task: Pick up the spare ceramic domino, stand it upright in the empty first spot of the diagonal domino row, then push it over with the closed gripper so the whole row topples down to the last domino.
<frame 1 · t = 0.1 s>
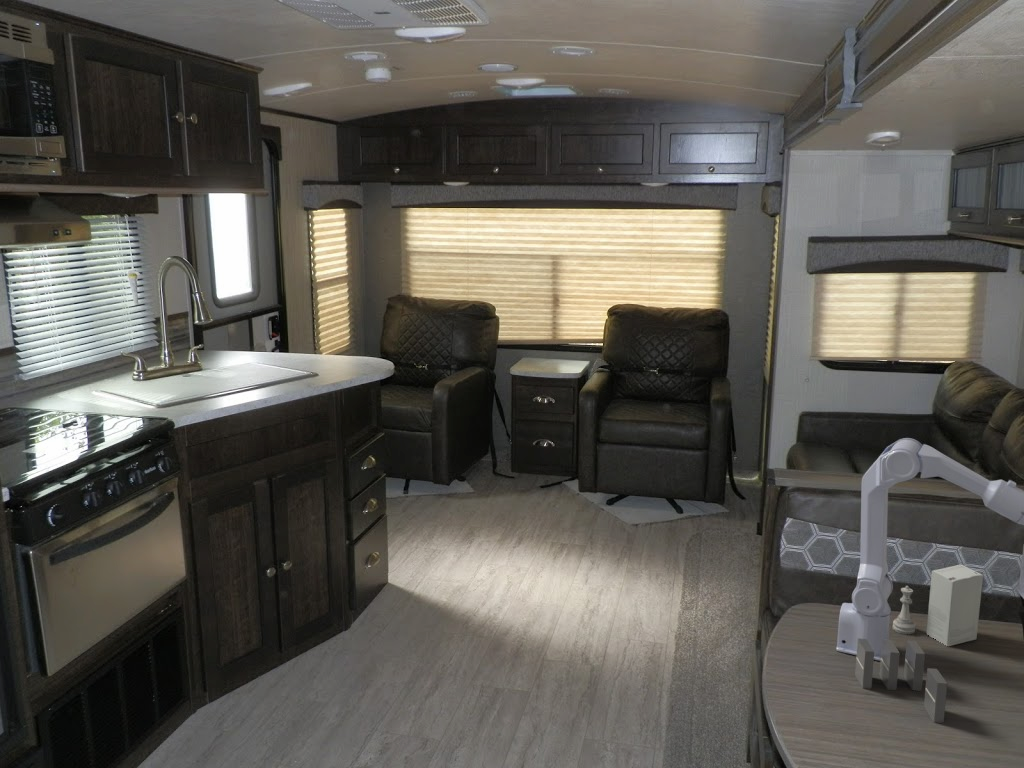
domino 2: (863, 681, 167), on the table
domino 1: (933, 714, 156), on the table
domino 4: (912, 683, 166), on the table
domino 3: (887, 682, 167), on the table
skincare box: (950, 639, 184), on the table
chess piece: (903, 630, 187), on the table
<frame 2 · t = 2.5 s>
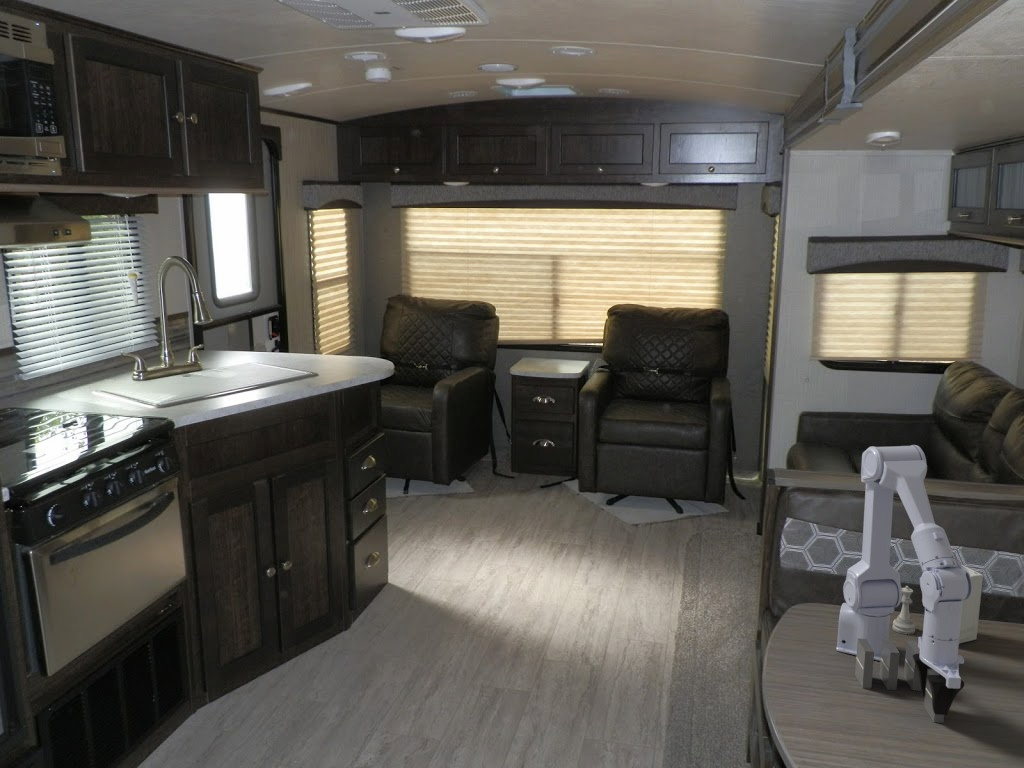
hand: (934, 704, 155), 2 cm above the table, tool pointing down, fingers closed on domino 1, 5 cm apart
domino 1: (933, 714, 156), on the table, touching gripper
everything else where it was.
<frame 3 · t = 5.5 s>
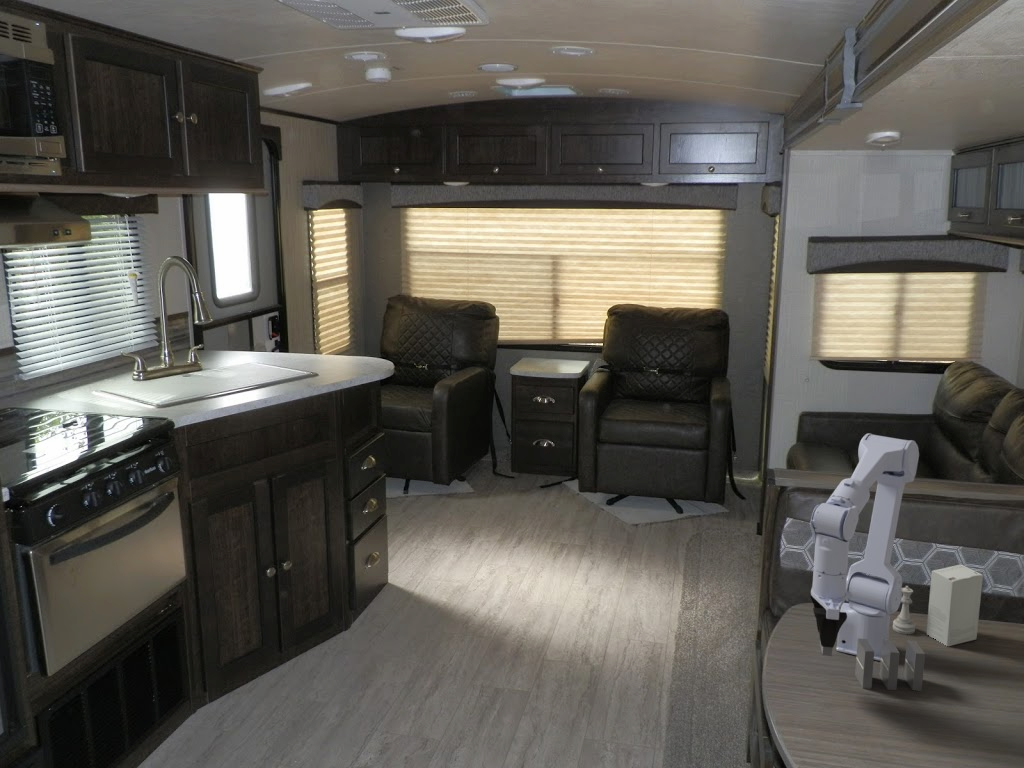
hand: (825, 639, 162), 10 cm above the table, tool pointing down, fingers closed on domino 1, 5 cm apart
domino 1: (825, 649, 162), point 8 cm above the table, touching gripper
everything else where it was.
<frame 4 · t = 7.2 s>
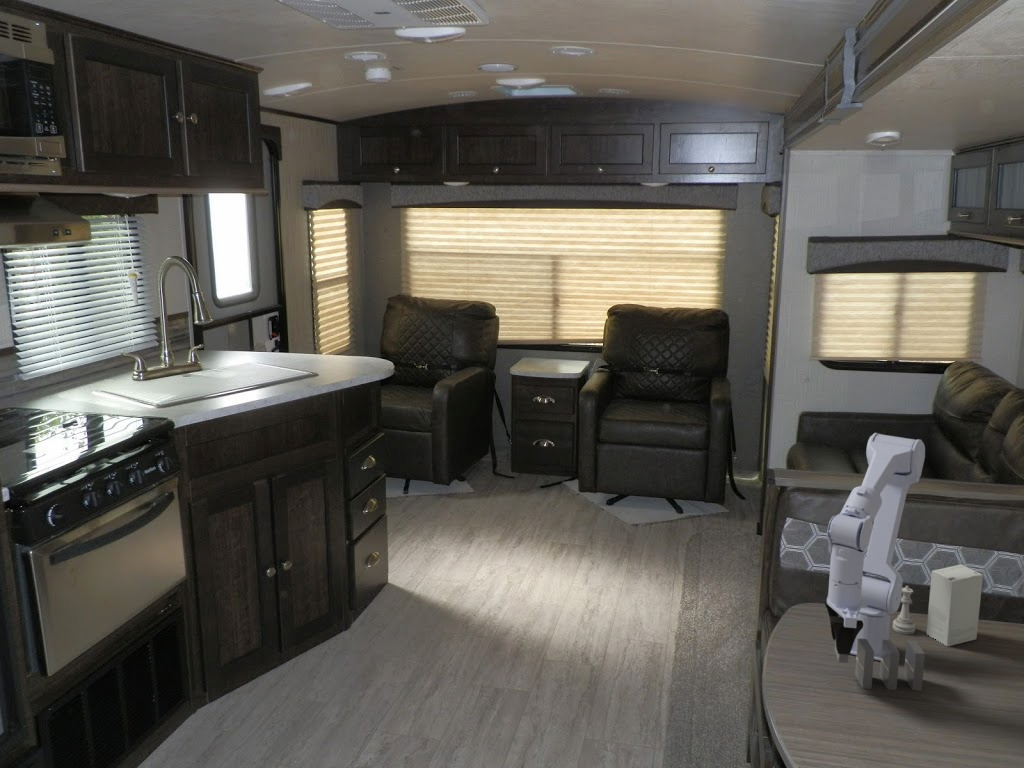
hand: (840, 646, 166), 7 cm above the table, tool pointing down, fingers closed on domino 1, 5 cm apart
domino 1: (840, 656, 166), point 5 cm above the table, touching gripper
everything else where it was.
when the fingers open (3 cm above the table, at t = 8.4 s): domino 1 stays where it is, on the table.
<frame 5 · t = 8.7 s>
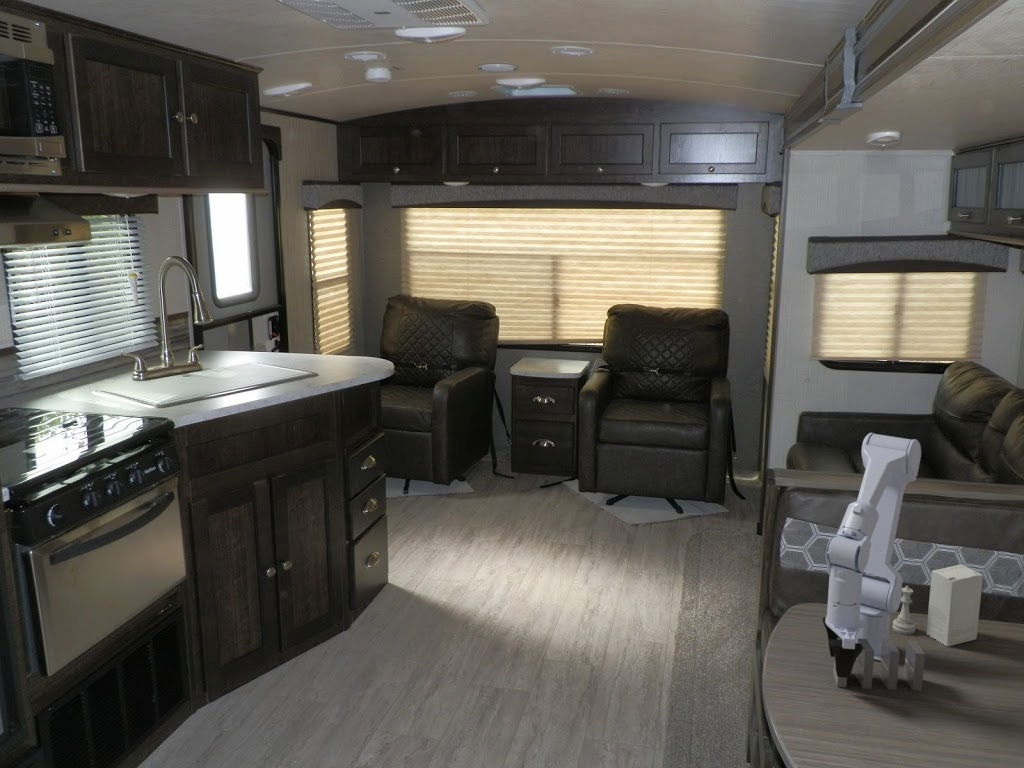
hand: (839, 666, 167), 3 cm above the table, tool pointing down, fingers open, 7 cm apart
domino 1: (839, 680, 167), on the table
everything else where it was.
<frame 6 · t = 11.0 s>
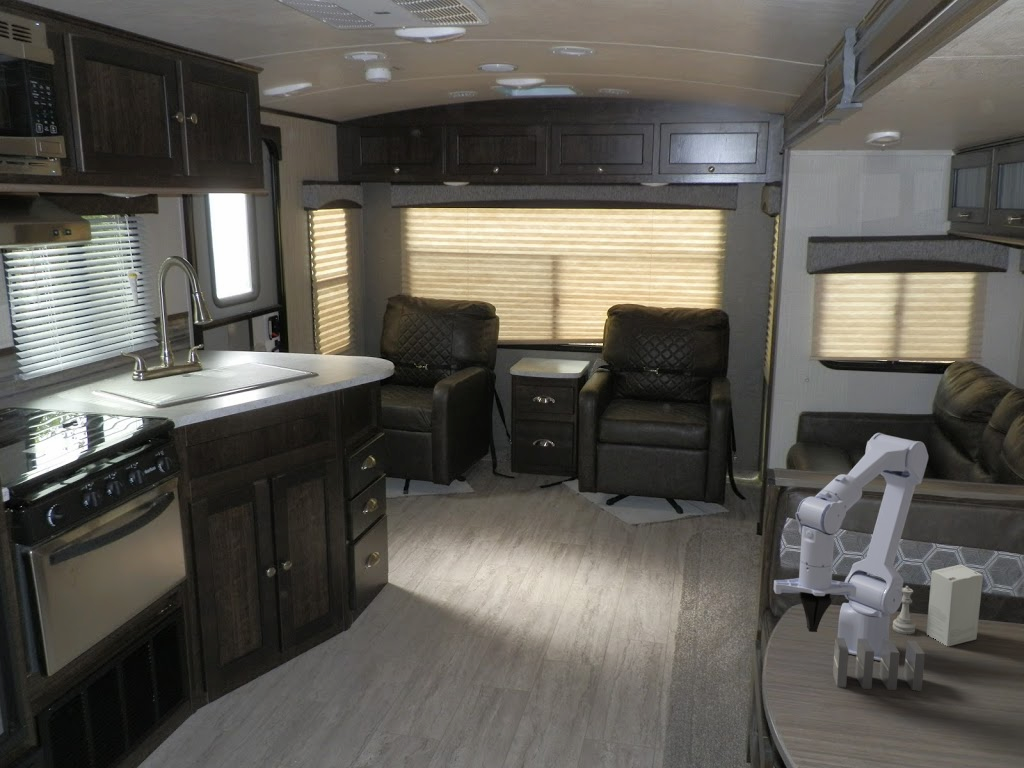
hand: (811, 629, 166), 10 cm above the table, tool pointing down, fingers closed
nothing on the table moved.
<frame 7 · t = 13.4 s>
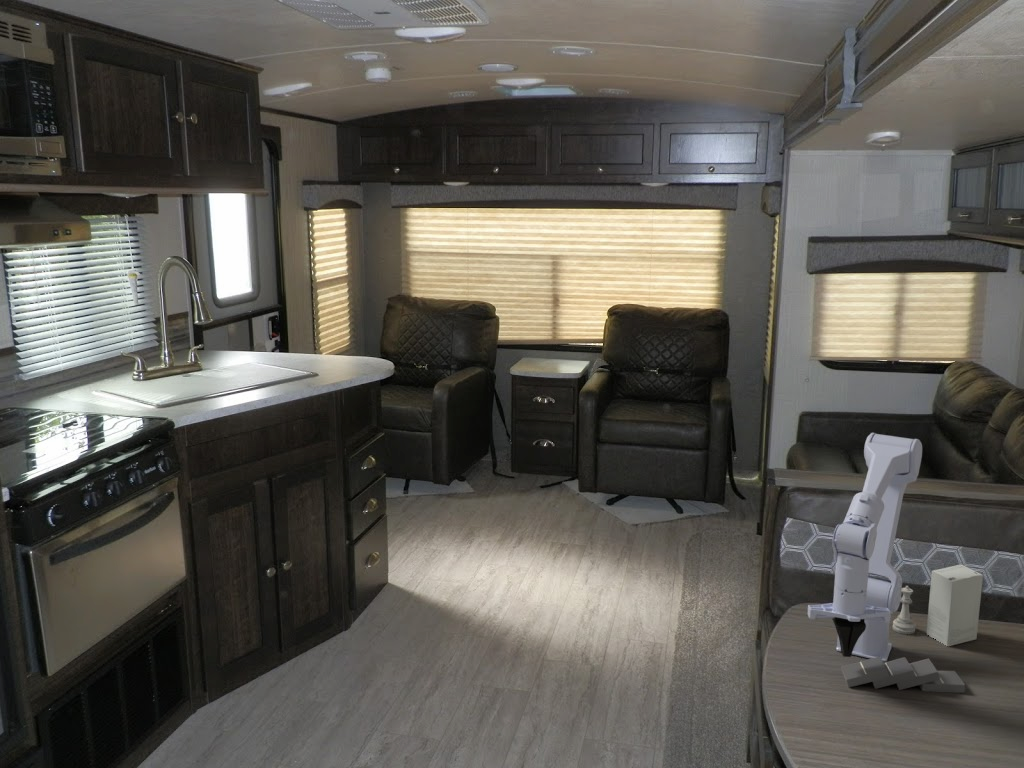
hand: (845, 654, 166), 5 cm above the table, tool pointing down, fingers closed
domino 2: (870, 678, 167), point 1 cm above the table, tilted 69°, touching domino 1, domino 3
domino 1: (844, 676, 167), point 1 cm above the table, tilted 69°, touching domino 2
domino 4: (917, 680, 166), point 1 cm above the table, tilted 89°
domino 3: (894, 679, 166), point 1 cm above the table, tilted 69°, touching domino 2
everything else where it was.
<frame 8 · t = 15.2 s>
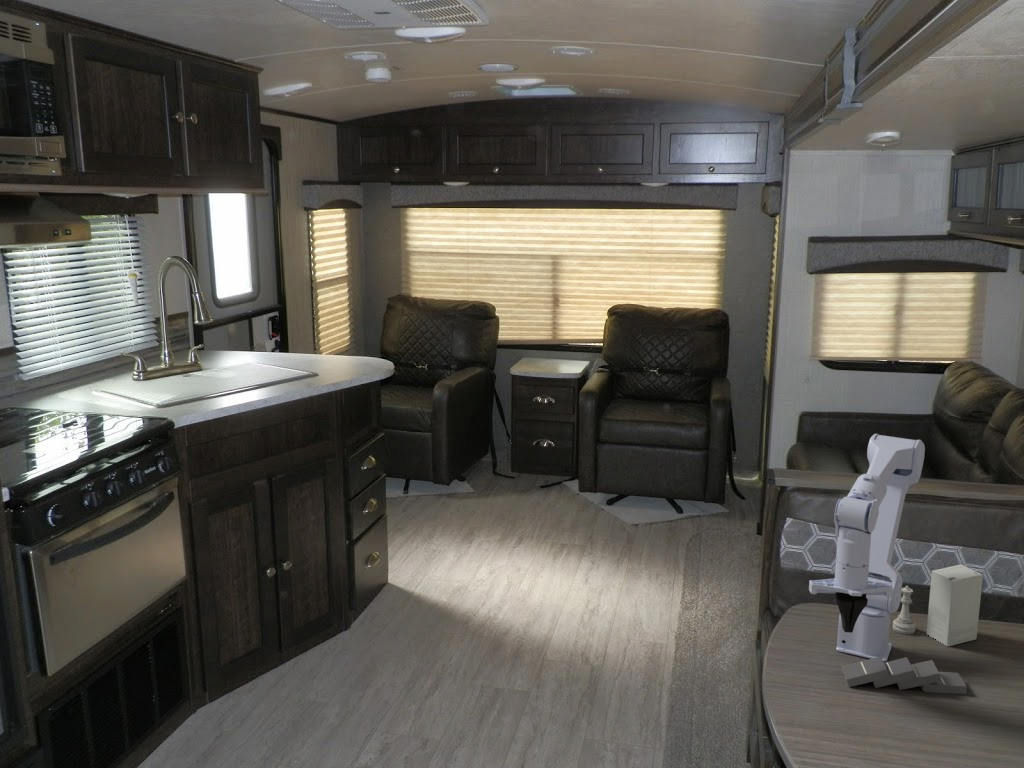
hand: (847, 630, 165), 10 cm above the table, tool pointing down, fingers closed
domino 2: (871, 677, 167), point 1 cm above the table, tilted 68°, touching domino 3
domino 1: (845, 676, 167), point 1 cm above the table, tilted 69°
domino 4: (919, 681, 166), point 1 cm above the table, tilted 89°, touching domino 3
domino 3: (895, 679, 166), point 1 cm above the table, tilted 70°, touching domino 2, domino 4
everything else where it was.
at the end: domino 1 tilted 69°; domino 3 tilted 70°; domino 4 tilted 89° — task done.
